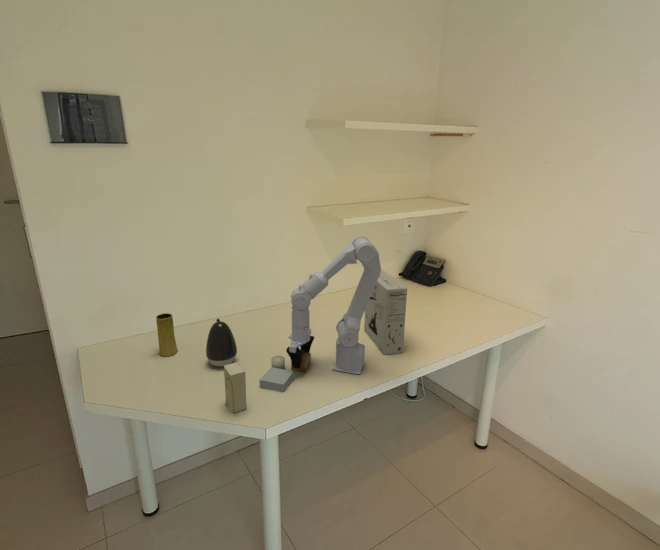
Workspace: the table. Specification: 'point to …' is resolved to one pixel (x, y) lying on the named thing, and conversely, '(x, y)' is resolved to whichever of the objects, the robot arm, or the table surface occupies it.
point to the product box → (386, 314)
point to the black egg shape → (220, 345)
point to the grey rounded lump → (278, 362)
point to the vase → (166, 335)
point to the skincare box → (235, 387)
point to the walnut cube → (303, 363)
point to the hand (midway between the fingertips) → (300, 362)
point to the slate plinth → (276, 379)
